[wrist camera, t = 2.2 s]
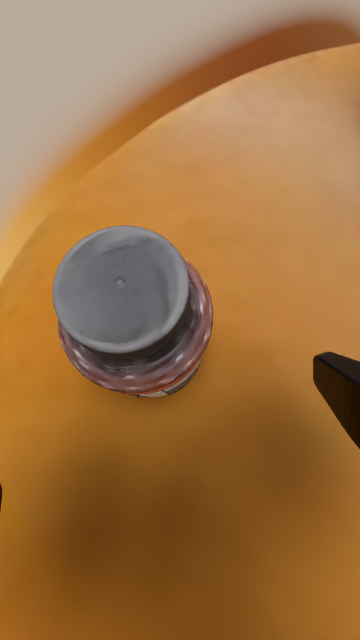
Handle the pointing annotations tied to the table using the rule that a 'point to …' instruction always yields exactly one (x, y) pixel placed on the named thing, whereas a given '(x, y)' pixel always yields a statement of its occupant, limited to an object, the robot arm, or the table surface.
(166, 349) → the supplement bottle
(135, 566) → the table surface
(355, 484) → the table surface
